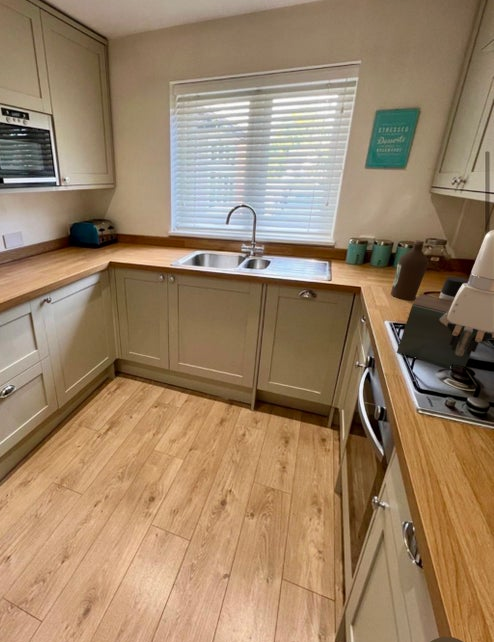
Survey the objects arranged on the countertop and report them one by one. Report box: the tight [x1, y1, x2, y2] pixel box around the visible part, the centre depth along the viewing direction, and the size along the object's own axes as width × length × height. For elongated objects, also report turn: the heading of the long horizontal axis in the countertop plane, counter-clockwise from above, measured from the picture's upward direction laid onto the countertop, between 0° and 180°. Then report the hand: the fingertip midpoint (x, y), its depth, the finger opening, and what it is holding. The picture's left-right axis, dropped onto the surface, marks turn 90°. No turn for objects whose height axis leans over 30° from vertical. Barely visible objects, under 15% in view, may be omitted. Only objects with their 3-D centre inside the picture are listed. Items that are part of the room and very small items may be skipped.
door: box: [396, 304, 478, 370], centre depth 91 cm, size 7×16×16 cm, turn 48°
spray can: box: [438, 276, 468, 301], centre depth 110 cm, size 7×7×20 cm
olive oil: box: [390, 239, 429, 301], centre depth 143 cm, size 11×11×25 cm
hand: (460, 350), depth 85 cm, fingers closed
